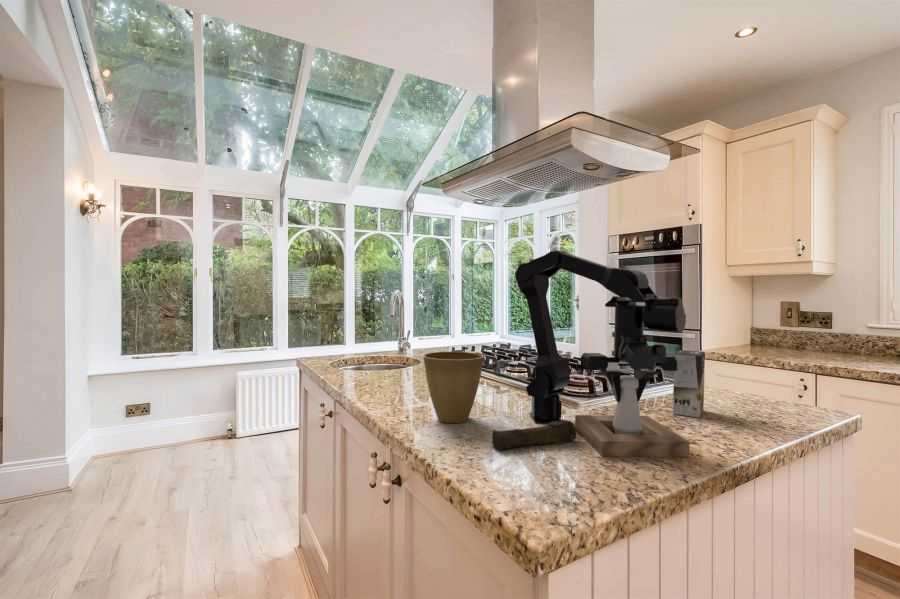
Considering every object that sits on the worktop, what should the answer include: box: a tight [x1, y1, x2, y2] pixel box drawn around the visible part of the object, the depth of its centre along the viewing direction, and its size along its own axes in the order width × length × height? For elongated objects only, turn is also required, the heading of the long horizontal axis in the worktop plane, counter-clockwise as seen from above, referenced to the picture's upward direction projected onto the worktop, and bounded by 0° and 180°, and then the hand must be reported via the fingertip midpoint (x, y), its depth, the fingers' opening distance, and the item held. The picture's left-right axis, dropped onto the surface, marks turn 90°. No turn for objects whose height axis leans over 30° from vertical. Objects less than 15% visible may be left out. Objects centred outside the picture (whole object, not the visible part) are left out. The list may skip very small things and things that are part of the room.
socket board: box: [574, 414, 691, 458], centre depth 90 cm, size 17×17×3 cm
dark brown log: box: [491, 419, 577, 452], centre depth 87 cm, size 19×4×5 cm, turn 105°
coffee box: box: [672, 349, 706, 419], centre depth 112 cm, size 9×6×16 cm
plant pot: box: [423, 351, 485, 424], centre depth 105 cm, size 15×15×16 cm
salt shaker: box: [613, 374, 642, 434], centre depth 90 cm, size 6×6×13 cm
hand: (627, 401), depth 90 cm, fingers closed on salt shaker, 4 cm apart
